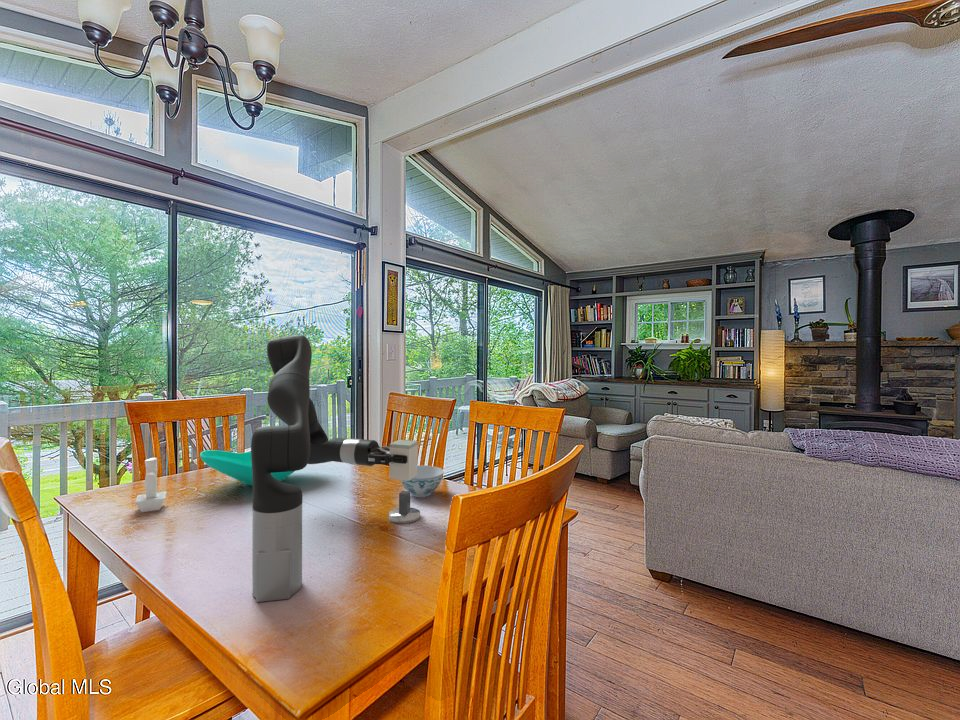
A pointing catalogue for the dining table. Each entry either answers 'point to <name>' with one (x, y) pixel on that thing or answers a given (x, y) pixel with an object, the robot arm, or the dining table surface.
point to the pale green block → (410, 468)
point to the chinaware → (424, 481)
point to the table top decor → (235, 465)
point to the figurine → (150, 489)
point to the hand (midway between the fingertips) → (411, 456)
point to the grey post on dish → (404, 510)
